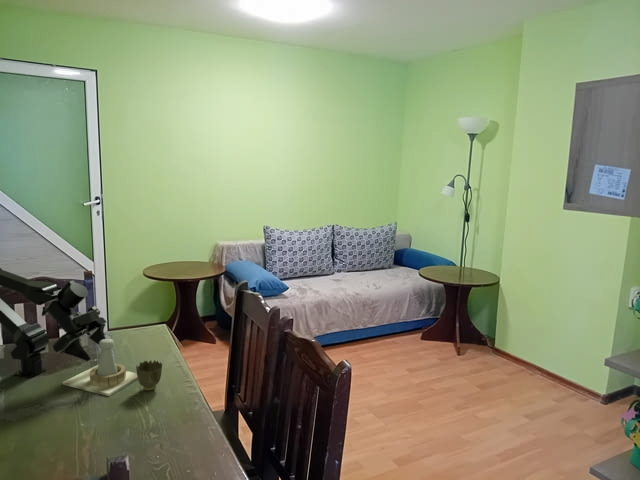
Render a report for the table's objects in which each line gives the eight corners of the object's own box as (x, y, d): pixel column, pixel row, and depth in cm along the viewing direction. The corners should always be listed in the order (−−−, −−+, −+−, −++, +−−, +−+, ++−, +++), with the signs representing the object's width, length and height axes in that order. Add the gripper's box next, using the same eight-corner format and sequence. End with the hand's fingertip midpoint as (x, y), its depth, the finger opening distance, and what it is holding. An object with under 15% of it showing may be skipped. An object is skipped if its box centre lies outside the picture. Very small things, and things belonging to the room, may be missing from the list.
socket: (62, 384, 142) (62, 373, 142) (98, 366, 155) (97, 356, 155) (109, 396, 136) (108, 384, 136) (142, 376, 149) (141, 365, 149)
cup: (154, 397, 137) (153, 371, 136) (131, 393, 138) (130, 368, 137) (167, 385, 144) (166, 361, 143) (145, 382, 145) (145, 358, 144)
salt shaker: (96, 377, 146) (94, 338, 144) (115, 373, 149) (114, 335, 147) (98, 385, 141) (97, 344, 139) (119, 381, 144) (117, 341, 142)
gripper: (60, 309, 133) (96, 350, 133) (100, 293, 151) (132, 328, 152) (37, 333, 136) (72, 372, 136) (79, 313, 154) (110, 348, 154)
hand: (98, 354), depth 144 cm, fingers open, 9 cm apart
